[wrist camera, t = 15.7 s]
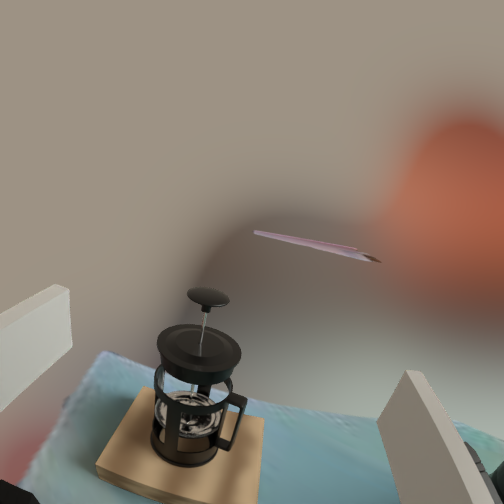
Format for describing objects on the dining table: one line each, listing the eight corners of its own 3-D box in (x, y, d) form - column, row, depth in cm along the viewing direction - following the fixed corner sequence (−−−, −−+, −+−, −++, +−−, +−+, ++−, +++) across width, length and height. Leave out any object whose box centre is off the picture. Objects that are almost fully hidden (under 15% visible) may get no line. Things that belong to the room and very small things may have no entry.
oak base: (258, 433, 43) (264, 418, 42) (248, 522, 26) (256, 511, 25) (143, 402, 44) (143, 385, 43) (99, 478, 26) (95, 463, 26)
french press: (132, 444, 31) (135, 287, 26) (166, 407, 40) (184, 266, 34) (214, 484, 28) (258, 334, 23) (239, 438, 37) (282, 298, 32)
